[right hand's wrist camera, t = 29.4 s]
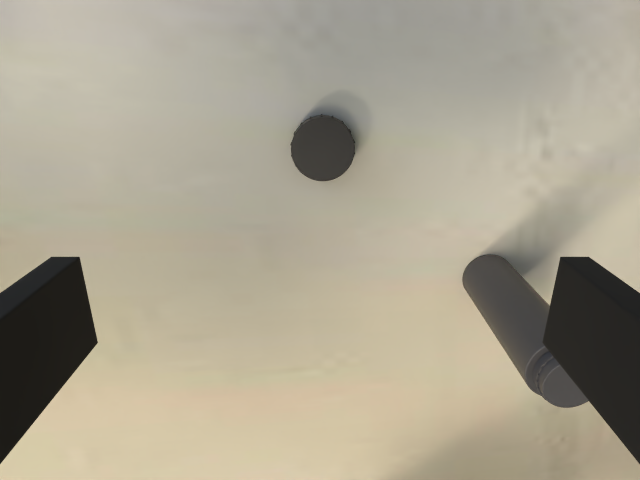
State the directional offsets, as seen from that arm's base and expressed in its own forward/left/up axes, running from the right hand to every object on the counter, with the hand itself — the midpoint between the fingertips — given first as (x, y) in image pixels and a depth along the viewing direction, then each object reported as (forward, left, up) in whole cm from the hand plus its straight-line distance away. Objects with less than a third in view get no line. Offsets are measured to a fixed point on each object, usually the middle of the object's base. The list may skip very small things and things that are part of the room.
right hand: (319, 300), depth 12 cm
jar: (+3, -19, -26) cm, 32 cm away
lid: (0, 0, -24) cm, 24 cm away
